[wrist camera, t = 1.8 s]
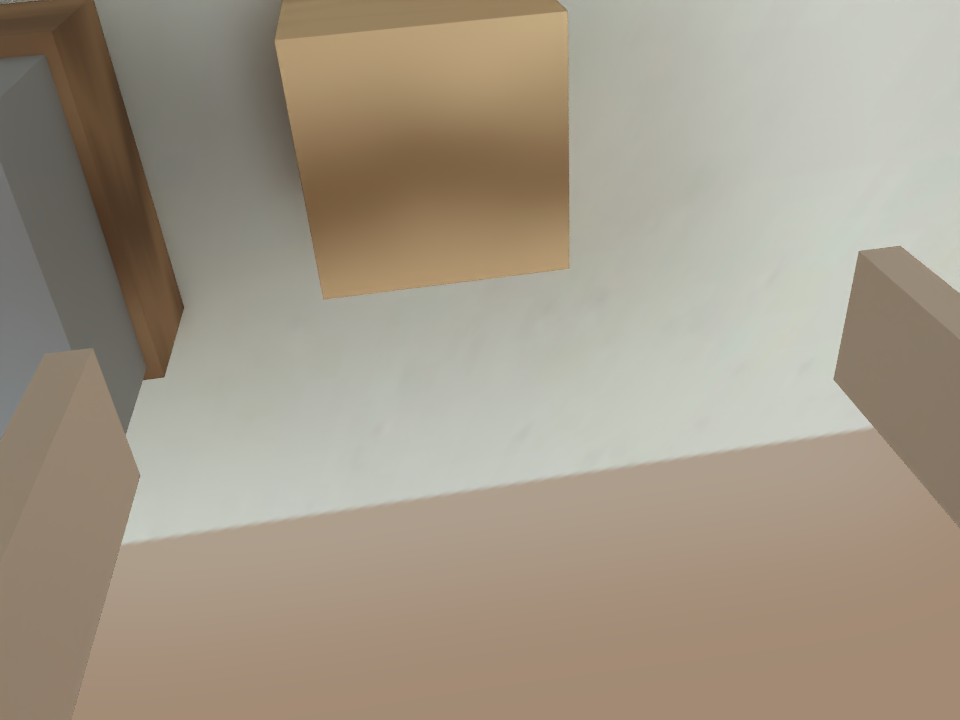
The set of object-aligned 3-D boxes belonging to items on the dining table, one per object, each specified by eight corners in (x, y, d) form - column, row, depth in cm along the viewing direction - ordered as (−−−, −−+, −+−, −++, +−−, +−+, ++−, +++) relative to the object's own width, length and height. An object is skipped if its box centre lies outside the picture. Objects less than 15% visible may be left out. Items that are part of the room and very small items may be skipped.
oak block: (287, -24, 27) (274, 40, 20) (511, -45, 27) (567, 11, 21) (324, 188, 31) (323, 299, 24) (519, 165, 31) (569, 268, 25)
